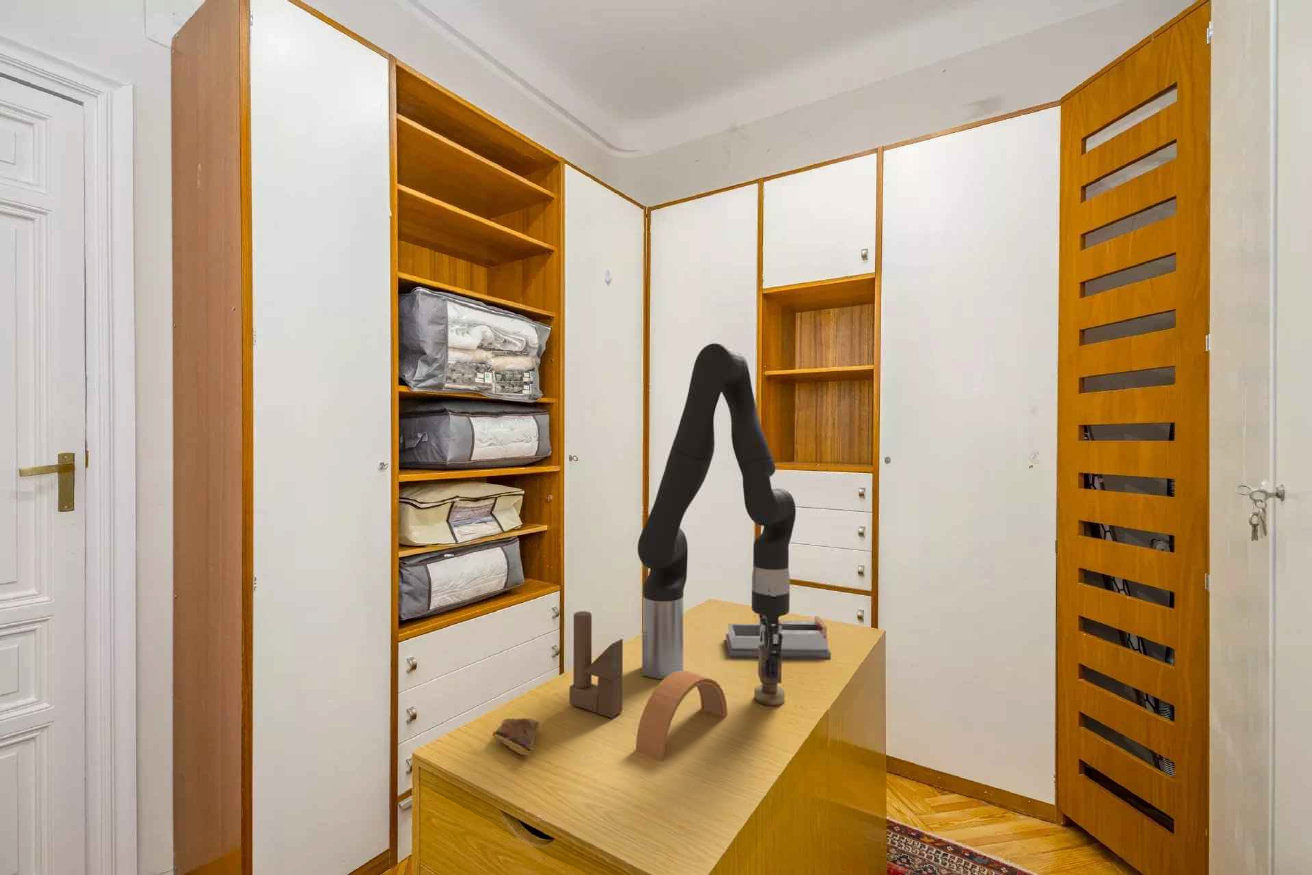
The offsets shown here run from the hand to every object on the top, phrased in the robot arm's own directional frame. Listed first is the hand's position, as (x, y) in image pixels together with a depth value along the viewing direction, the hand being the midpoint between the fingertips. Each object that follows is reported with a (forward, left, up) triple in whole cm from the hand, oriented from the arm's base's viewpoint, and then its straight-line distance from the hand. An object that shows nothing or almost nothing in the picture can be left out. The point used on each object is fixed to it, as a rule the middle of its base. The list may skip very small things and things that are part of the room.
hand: (769, 672), depth 117 cm
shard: (-42, -19, -7) cm, 47 cm away
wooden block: (-35, -5, -6) cm, 36 cm away
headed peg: (0, 0, -5) cm, 5 cm away
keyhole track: (+6, +28, -6) cm, 29 cm away
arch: (-17, -13, -6) cm, 23 cm away
